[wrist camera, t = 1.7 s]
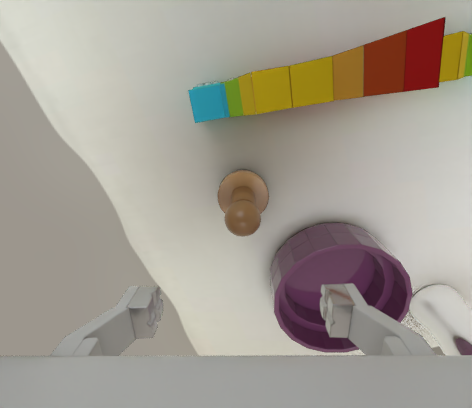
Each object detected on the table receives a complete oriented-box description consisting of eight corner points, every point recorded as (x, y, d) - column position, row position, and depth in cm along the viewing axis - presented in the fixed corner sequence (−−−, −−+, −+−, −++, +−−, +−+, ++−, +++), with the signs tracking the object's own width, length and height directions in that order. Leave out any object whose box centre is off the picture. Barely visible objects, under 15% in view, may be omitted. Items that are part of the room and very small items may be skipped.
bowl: (270, 221, 30) (275, 245, 25) (393, 219, 29) (425, 243, 24) (269, 316, 35) (273, 352, 30) (375, 315, 34) (398, 352, 29)
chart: (536, 22, 22) (1017, -115, 8) (527, 63, 24) (942, 1, 10) (196, 86, 25) (134, 62, 11) (202, 120, 26) (155, 137, 12)
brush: (218, 167, 28) (206, 195, 19) (266, 165, 28) (276, 193, 19) (221, 212, 30) (211, 255, 21) (266, 210, 30) (275, 254, 21)
